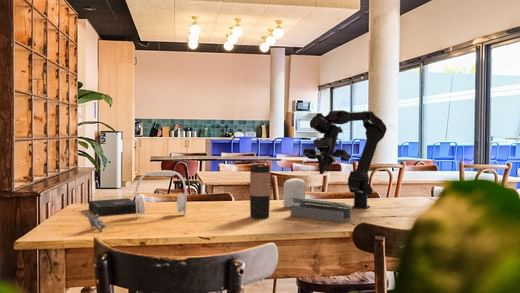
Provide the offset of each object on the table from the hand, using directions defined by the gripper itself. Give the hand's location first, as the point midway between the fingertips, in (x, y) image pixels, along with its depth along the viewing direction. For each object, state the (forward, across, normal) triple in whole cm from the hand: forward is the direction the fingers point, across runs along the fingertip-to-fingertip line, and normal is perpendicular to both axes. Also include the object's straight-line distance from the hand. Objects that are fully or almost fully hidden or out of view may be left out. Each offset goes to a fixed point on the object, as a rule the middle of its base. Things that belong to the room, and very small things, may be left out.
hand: (320, 173), depth 191 cm
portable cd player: (+36, -69, -35) cm, 85 cm away
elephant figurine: (+47, -45, -58) cm, 87 cm away
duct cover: (+13, +3, 0) cm, 14 cm away
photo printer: (+11, -18, +16) cm, 26 cm away
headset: (+34, -46, -31) cm, 65 cm away
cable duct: (+17, +3, +2) cm, 18 cm away
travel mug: (+24, -15, -10) cm, 30 cm away
